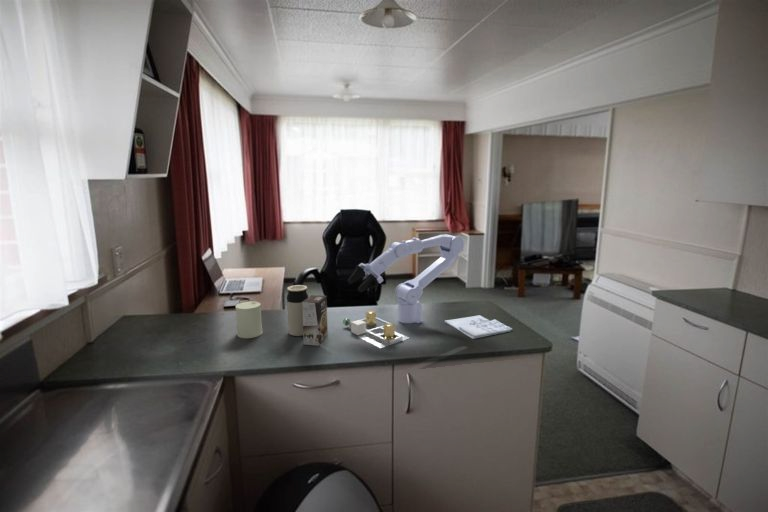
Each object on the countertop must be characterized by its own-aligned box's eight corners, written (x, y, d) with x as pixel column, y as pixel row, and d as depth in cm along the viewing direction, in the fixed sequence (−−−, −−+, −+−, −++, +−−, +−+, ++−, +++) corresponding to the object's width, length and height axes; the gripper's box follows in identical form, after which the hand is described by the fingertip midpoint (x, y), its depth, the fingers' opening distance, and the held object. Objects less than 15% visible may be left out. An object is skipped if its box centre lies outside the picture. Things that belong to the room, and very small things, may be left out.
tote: (373, 319, 174) (373, 315, 174) (392, 327, 165) (392, 323, 164) (349, 326, 166) (349, 322, 166) (368, 334, 157) (368, 331, 157)
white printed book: (472, 340, 153) (473, 335, 153) (443, 323, 171) (443, 318, 171) (513, 332, 161) (513, 327, 160) (480, 316, 179) (481, 311, 178)
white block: (359, 332, 159) (359, 319, 158) (366, 335, 156) (366, 322, 155) (351, 334, 157) (351, 321, 156) (357, 338, 154) (357, 324, 153)
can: (267, 331, 161) (265, 301, 158) (250, 340, 152) (248, 309, 150) (249, 327, 164) (247, 299, 162) (232, 336, 156) (229, 305, 154)
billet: (371, 323, 168) (371, 310, 167) (378, 325, 165) (377, 312, 164) (363, 325, 166) (363, 312, 164) (370, 328, 163) (370, 314, 161)
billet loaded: (389, 336, 152) (389, 322, 151) (396, 340, 149) (397, 325, 148) (381, 339, 149) (381, 325, 148) (388, 343, 146) (388, 328, 145)
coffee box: (320, 346, 147) (318, 302, 144) (303, 344, 148) (301, 301, 145) (328, 336, 156) (327, 295, 152) (312, 335, 157) (310, 294, 154)
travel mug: (313, 332, 160) (312, 287, 156) (296, 338, 154) (294, 291, 150) (301, 327, 165) (299, 283, 161) (284, 332, 159) (282, 287, 156)
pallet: (386, 330, 161) (386, 324, 160) (409, 341, 151) (409, 334, 151) (357, 340, 152) (357, 333, 152) (380, 351, 142) (380, 344, 142)
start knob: (348, 324, 164) (348, 317, 163) (359, 329, 158) (359, 322, 158) (342, 325, 162) (342, 319, 161) (353, 331, 157) (353, 323, 156)
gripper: (367, 250, 163) (340, 271, 159) (387, 263, 152) (359, 287, 148) (374, 263, 167) (348, 284, 163) (394, 276, 156) (367, 299, 152)
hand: (353, 286), depth 156 cm, fingers open, 7 cm apart
